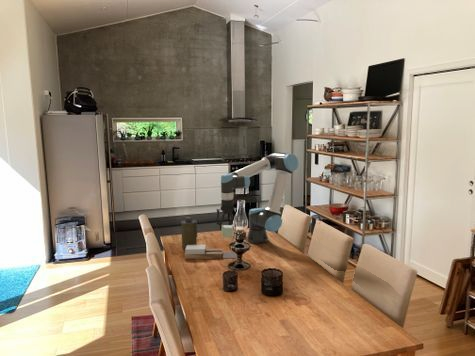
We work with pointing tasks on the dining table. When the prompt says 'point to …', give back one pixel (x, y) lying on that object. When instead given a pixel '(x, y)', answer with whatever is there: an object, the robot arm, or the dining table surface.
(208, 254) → the runners
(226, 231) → the stop block
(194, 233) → the canister
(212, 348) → the dining table surface
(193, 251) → the slab
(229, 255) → the pad
